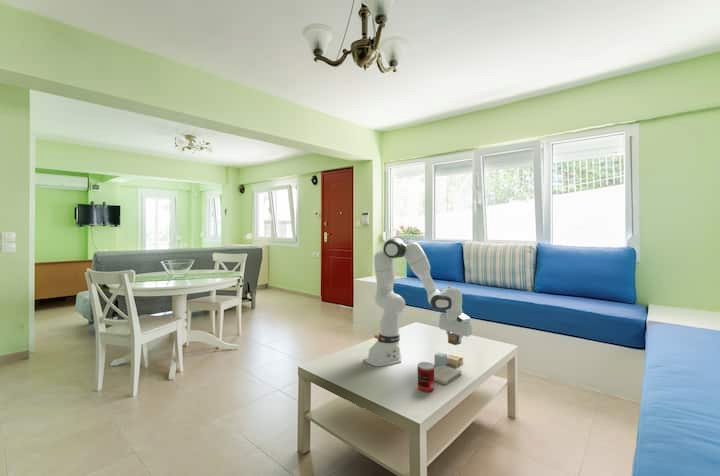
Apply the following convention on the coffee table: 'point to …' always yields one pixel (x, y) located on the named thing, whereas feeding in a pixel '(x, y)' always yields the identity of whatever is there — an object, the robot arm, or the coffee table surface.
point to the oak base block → (454, 360)
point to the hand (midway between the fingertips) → (454, 340)
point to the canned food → (426, 377)
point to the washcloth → (445, 374)
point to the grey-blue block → (440, 359)
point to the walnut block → (453, 338)
